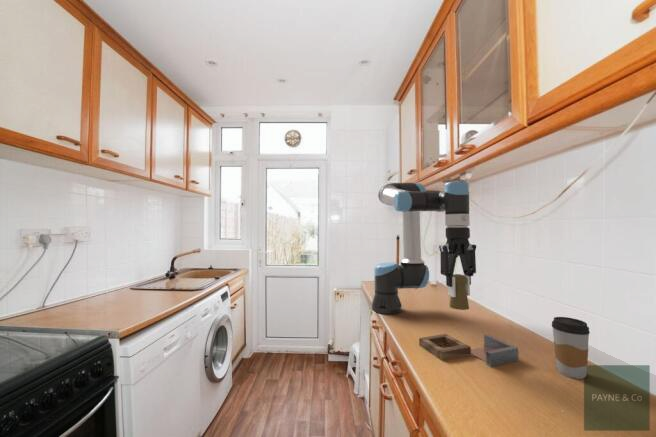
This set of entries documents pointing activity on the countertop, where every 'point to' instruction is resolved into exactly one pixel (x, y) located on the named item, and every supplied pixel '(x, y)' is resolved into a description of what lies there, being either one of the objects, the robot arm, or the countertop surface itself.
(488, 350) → the corner cradle
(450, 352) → the socket block
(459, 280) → the olive stamp handle
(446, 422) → the countertop surface
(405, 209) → the robot arm
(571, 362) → the coffee cup
